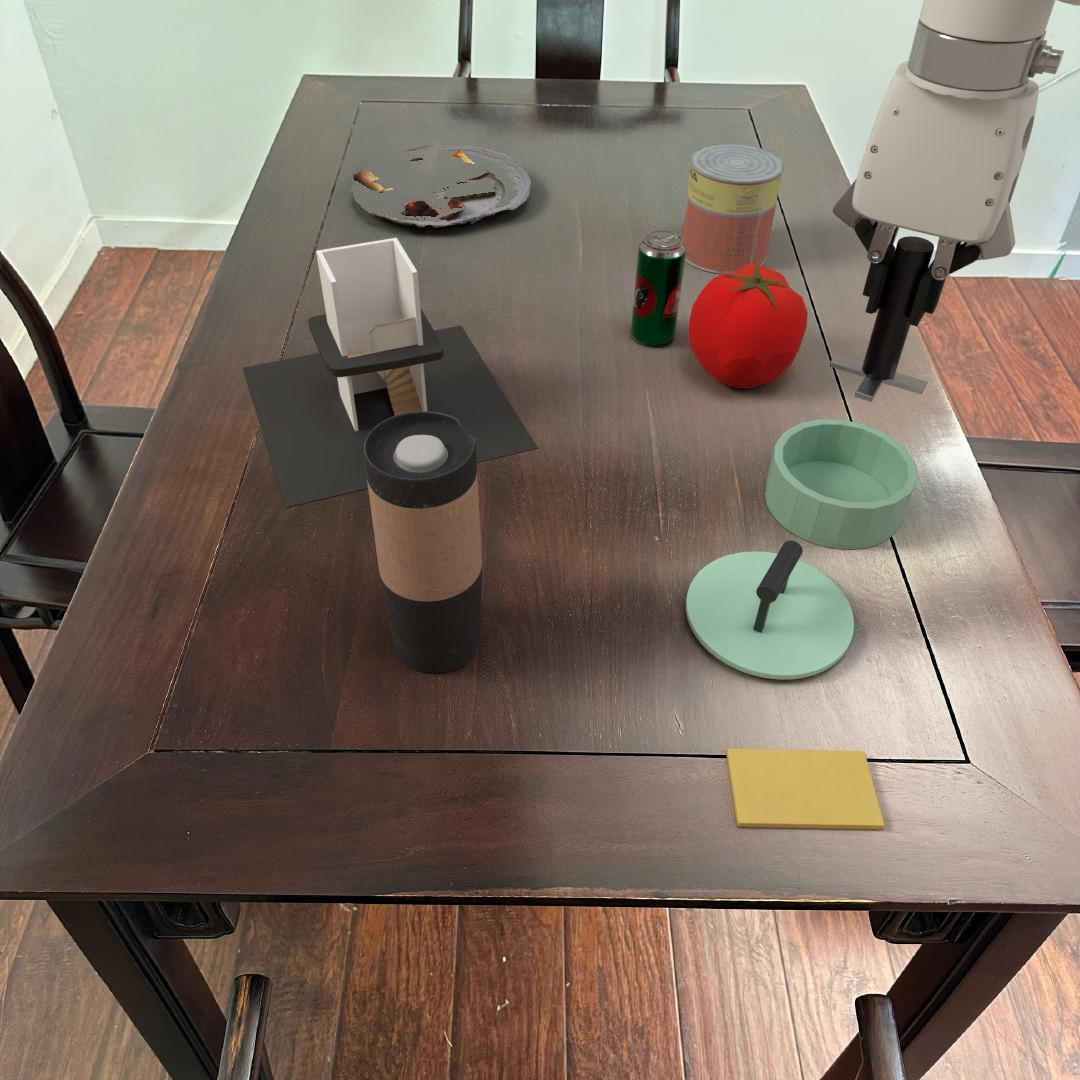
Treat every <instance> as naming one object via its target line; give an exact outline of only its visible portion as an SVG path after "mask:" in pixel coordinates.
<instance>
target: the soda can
mask: <svg viewBox="0 0 1080 1080" xmlns="http://www.w3.org/2000/svg"><path fill="white" fill-rule="evenodd" d="M683 243H684V239H683V237H682V234H680V233H678V232H675V231H673V230H668V229H655V230H650V231H648V232H646V233H645V234H644V235H643V237H642V241H641V242H640V243H639V244H638V251H637V262H636V273H635V284H634V285H635V286H634V293H633V304H632V315H631V327H630V333H631V335H632V337H633V338H634V339H635V340H636V341H637V342H638V343H640V344H642V345H643V346H644V345H645V346H648V347H660V346H661V347H662V346H664V345H667V344H668V343H669V342H671V341H672V340H673V339H674V338H675V337H676V332H677V323H678V316H679V315H678V314H679V309H680V308H679V307H680V299H681V293H682V286H683V277H684V269H685V263H686V261H685V255H686V248H685V246H684V244H683Z"/></svg>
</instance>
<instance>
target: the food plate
mask: <svg viewBox="0 0 1080 1080" xmlns="http://www.w3.org/2000/svg"><path fill="white" fill-rule="evenodd" d="M426 148H427V149H430V150H433V149H435V150H442V151H443V150H448V151H452V150H453V151H457V152H455V153H454V154H453V155H452V158H455V157H456V158H460V159H462V160H463V161H464V162H465V163H472V164H474V163H475V162H472V160H471V159H469V158H468V157H467V156H465V154H464V153H466V154H470V155H474V156H479V157H480V158H484V159H487V160H489V161H494V163H496V164H498V165H501V166H502V170H508V171H510V172H508V174H507V176H508V177H507V178H509V179H513V181H514V182H515V183H516V184H517V185H516V186H515V187H512V189H511V190H514V189H517V190H518V192H517V193H518V195H517V196H516V197H515V198H514V199H512V200H510V203H511V204H508V205H506V206H504V207H499V208H496V207H495V205H497V204H498V203H500V202H501V201H502V199H503V198H504V195H505V187H504V185H503V183H502V182H501V181H500V180H498V179H496V177H495V175H494V174H492V173H490V172H489V171H488V170H486V169H485V170H486V172H488V173H485V174H483V175H481V176H478V177H474V178H472V179H471V178H469V180H481V179H492V183H494V185H495V186H496V187H493V188H494V190H495V192H488V193H481V194H473V195H467V196H461V197H452V198H450V201H449V202H448V203H447V204H448V206H449V208H450V209H453V208H462V207H463V206H464V205H465V206H466V208H465V209H464V210H461V211H458V212H456V213H452V214H449V215H446V216H443V217H441V218H439V219H440V220H441V222H433V221H432V220H426V219H425V218H424V220H418V219H407V218H405V219H404V220H403V219H397V218H392V217H388V216H387V215H386V216H387V217H388V218H387V217H386V216H384V215H383V216H382V215H380V216H382V217H384V218H385V219H384V218H383V219H384V220H388V221H389V220H391V221H393V222H392V223H394V222H396V223H398V224H397V225H403V226H411V227H412V226H413V227H414V225H415V227H416V226H418V227H417V228H420V227H422V228H424V227H426V226H432V228H436V229H438V228H443V227H446V226H455V225H466V224H467V222H469V223H470V225H473V224H474V223H477V222H478V221H481V220H482V219H483V218H482V217H484V218H487V217H492V216H494V215H495V214H497V213H499V212H504V211H507V210H508V211H514V210H516V209H517V208H519V207H520V206H521V205H523V204H524V203H525V202H526V201H528V198H529V197H530V193H531V183H532V180H531V176H530V175H529V172H528V170H527V169H525V167H524V166H523V165H522V164H521V163H519V162H518V161H515V159H512V157H510V156H509V155H507V154H504V153H499V152H497V151H494V150H491V149H487V148H483V147H479V146H478V147H477V146H470V145H442V146H441V145H433V146H432V145H423V146H418V147H413V148H410V149H406V150H402V151H400V152H399V153H402V152H406V151H415V150H421V149H424V150H426ZM411 159H412V160H410V161H418V160H423V158H421V157H419V158H411ZM478 166H479V165H478ZM499 168H500V167H499ZM483 169H484V168H483ZM352 177H353V178H352V180H353V179H354V181H358V182H359V183H361V184H362V185H364V186H366V187H367V188H369V189H371V190H374V191H380V192H378V193H383V192H384V191H385V190H386V191H391V190H393V188H389V189H384V188H383V187H382V186H381V185H380V184H378V183H372V182H371V181H374V180H378V179H379V178H378V177H375V176H374V175H373V174H372V173H371V172H367V171H365V172H364V171H362V170H359V171H357V172H356V173H353V175H352ZM466 181H467V180H466ZM455 183H457V182H455ZM460 183H463V184H464V183H467V182H459V183H457V184H460ZM447 188H449V187H447ZM453 188H454V187H453ZM513 188H514V189H513ZM443 189H444V188H443ZM451 189H452V188H451ZM444 190H447V189H444ZM433 193H436V194H438V195H440V194H445V192H433ZM435 196H436V195H435ZM440 196H441V197H438V198H442V199H447V200H448V197H446V196H443V195H440ZM438 198H437V199H438ZM404 207H405V211H404V212H405V214H404V212H401V213H402V215H405V216H414V217H416V216H421V217H422V216H431V217H436V216H437V215H439V214H438V212H437V211H436V210H435V209H432V207H431V206H430V205H428V203H426V202H425V201H424V200H422V201H421V200H418V201H411V202H409V203H406V206H404ZM434 208H436V207H434ZM490 208H491V210H490ZM436 209H438V210H445V209H442V208H436ZM492 211H493V212H492ZM372 213H373V214H375V215H378V216H379V214H380V213H379V214H376V213H374V212H372ZM391 213H392V212H391ZM395 213H398V212H395ZM401 213H399V214H401ZM491 215H492V216H491ZM486 216H487V217H486ZM382 217H381V218H382ZM464 217H467V218H469V219H467V220H465V219H463V218H464ZM481 218H482V219H481ZM477 219H480V220H477ZM391 221H390V222H391ZM422 221H423V222H422ZM460 222H463V223H460ZM396 223H395V224H396Z"/></svg>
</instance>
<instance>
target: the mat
mask: <svg viewBox="0 0 1080 1080" xmlns="http://www.w3.org/2000/svg"><path fill="white" fill-rule="evenodd" d="M726 761H727V767H728V774H729V779H730V787H731V793H732V799H733V807H734V813H735V821H736V827H737V828H767V829H768V828H770V829H771V828H772V829H773V828H774V829H775V828H776V829H777V828H778V829H826V830H829V829H830V830H831V829H832V830H875V831H876V830H878V831H879V830H883V829H884V828H885V822H884V817H883V814H882V811H881V806H880V803H879V799H878V795H877V792H876V788H875V783H874V781H873V777H872V773H871V770H870V766H869V762H868V759H867V754H866V752H865V751H864V750H830V749H829V750H825V749H822V750H821V749H776V748H775V749H770V748H768V749H767V748H727V749H726Z"/></svg>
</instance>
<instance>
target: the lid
mask: <svg viewBox="0 0 1080 1080" xmlns="http://www.w3.org/2000/svg"><path fill="white" fill-rule="evenodd" d="M803 552H804V549H803V547H802V544H800V543H799V542H797V541H796V540H786V541H784V543H783V544H782V545H781V547H780V549H779V551H778V552H777V553H776V552H769V551H758V550H757V551H755V550H754V551H742V552H736V553H731V554H727V555H724V556H721V557H719V558H716V559H714V560H712V561H710V563H708V564H707V565H705V566H703V568H701V569H700V570H699V571H698V572H697V574H696V575H695V576H694V577H693V579H692V580H691V583H690V584H689V587H688V589H687V592H686V599H685V614H686V619H687V622H688V624H689V628H690V629H691V631H692V633H693V634H694V636H695V638H696V639H697V640H698V642H699V643H700V644H701V646H703V647H704V648H705V649H706V650H707V652H708V653H710V654H711V655H713V656H714V657H715V658H716V659H717V660H719V661H720V662H722V663H723V664H725V665H727V666H729V667H731V668H733V669H735V670H737V671H740V672H742V673H744V674H748V675H752V676H755V677H758V678H765V679H770V680H783V681H784V680H797V679H805V678H808V677H813V676H815V675H818V674H820V673H823V672H825V671H826V670H828V669H830V668H831V667H833V666H834V665H836V663H838V662H839V661H840V660H841V659H842V658H843V657H844V655H845V654H846V653H847V651H848V650H849V648H850V646H851V642H852V640H853V637H854V631H855V617H854V612H853V609H852V607H851V605H850V602H849V600H848V599H847V597H846V595H845V594H844V592H843V591H842V589H841V588H840V587H839V586H838V585H837V584H836V582H834V581H833V580H832V579H831V578H830V577H829V576H828V575H827V574H825V573H824V572H822V571H820V569H818V568H816V567H814V566H813V565H811V564H809V563H807V562H805V561H802V560H800V558H801V557H802V555H803Z"/></svg>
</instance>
